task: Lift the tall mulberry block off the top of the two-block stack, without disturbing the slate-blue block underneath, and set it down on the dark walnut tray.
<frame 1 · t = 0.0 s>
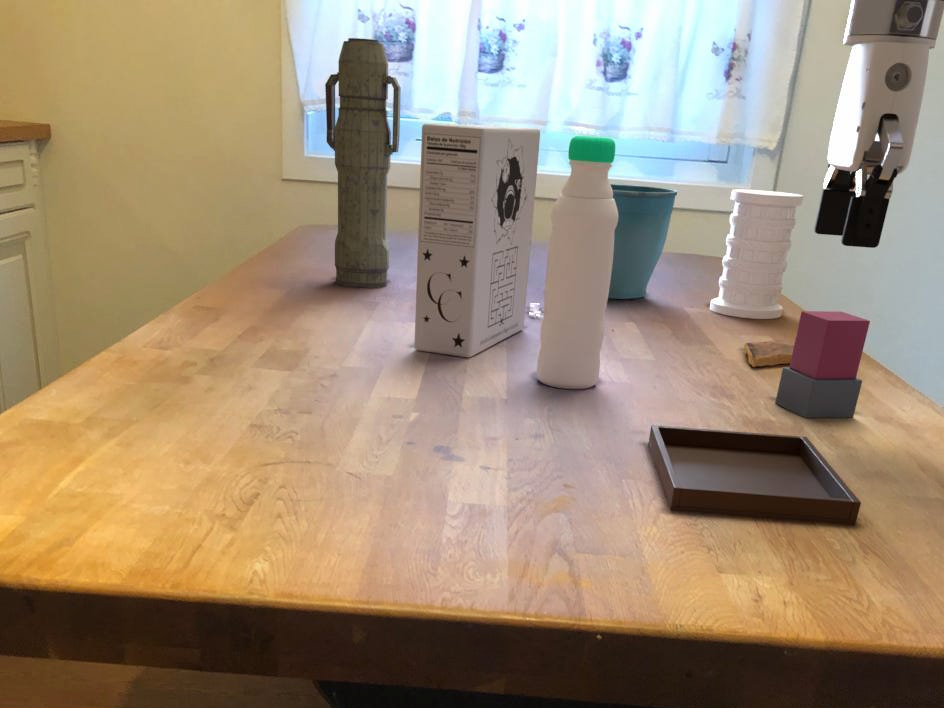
hand: (844, 240, 92), 18 cm above the table, tool pointing down, fingers open, 9 cm apart
cereal box: (472, 340, 130), on the table
miniature furniture: (513, 315, 148), on the table
flower pot: (608, 295, 170), on the table
water bottle: (566, 384, 112), on the table
decorative container: (744, 313, 162), on the table
tray: (741, 486, 83), on the table
thermos: (361, 284, 165), on the table
base block: (813, 410, 108), on the table, touching mulberry block
tan flat slab: (775, 363, 129), on the table
mulberry block: (822, 373, 106), point 4 cm above the table, touching base block
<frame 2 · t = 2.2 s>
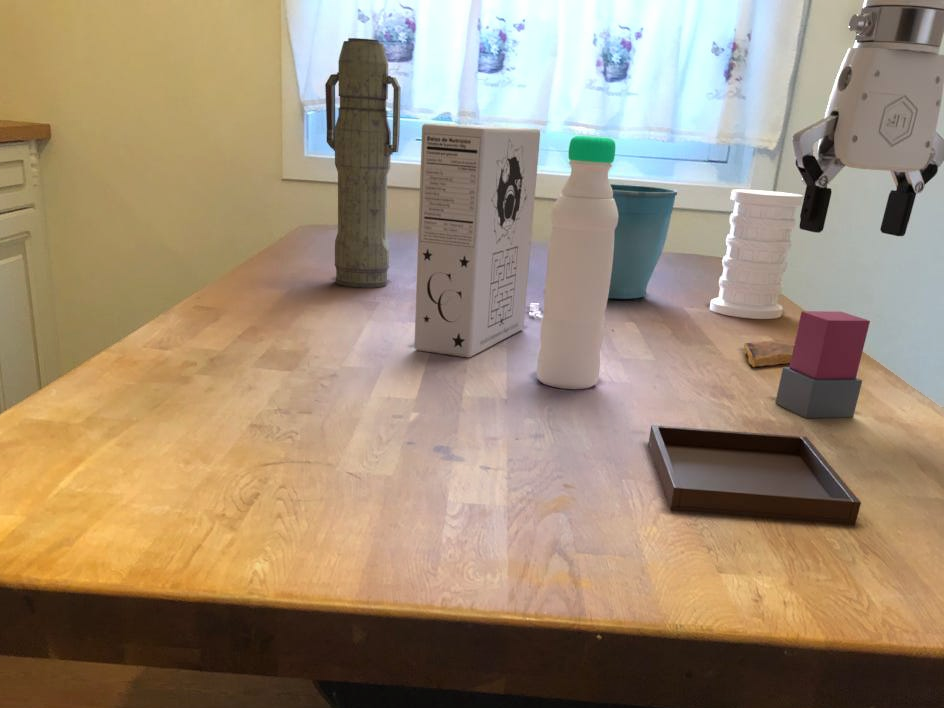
hand: (851, 232, 99), 18 cm above the table, tool pointing down, fingers open, 9 cm apart
nothing on the table moved.
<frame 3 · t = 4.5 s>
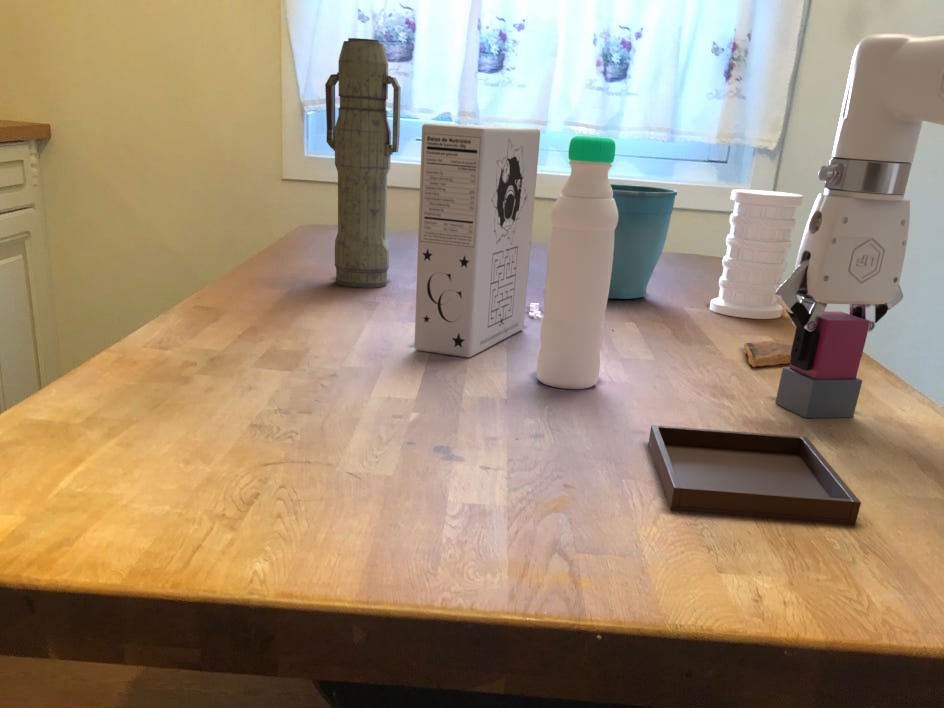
hand: (823, 365, 105), 5 cm above the table, tool pointing down, fingers closed on mulberry block, 5 cm apart
mulberry block: (822, 373, 106), point 4 cm above the table, touching base block, gripper
everything else where it was.
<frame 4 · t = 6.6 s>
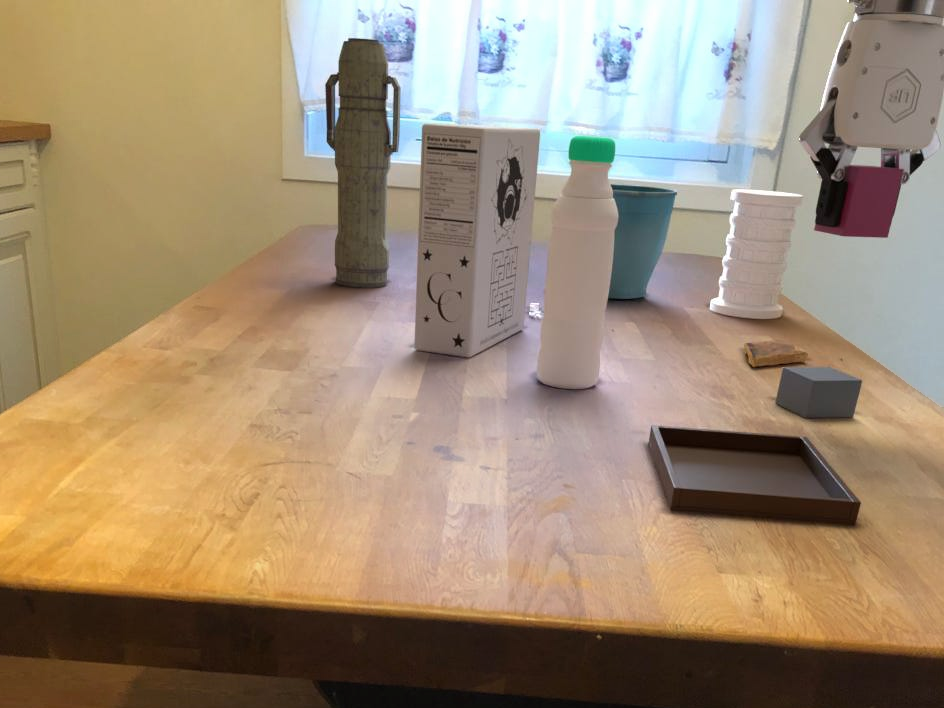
hand: (852, 224, 96), 19 cm above the table, tool pointing down, fingers closed on mulberry block, 5 cm apart
base block: (813, 410, 108), on the table
mulberry block: (850, 234, 96), point 18 cm above the table, touching gripper
everything else where it was.
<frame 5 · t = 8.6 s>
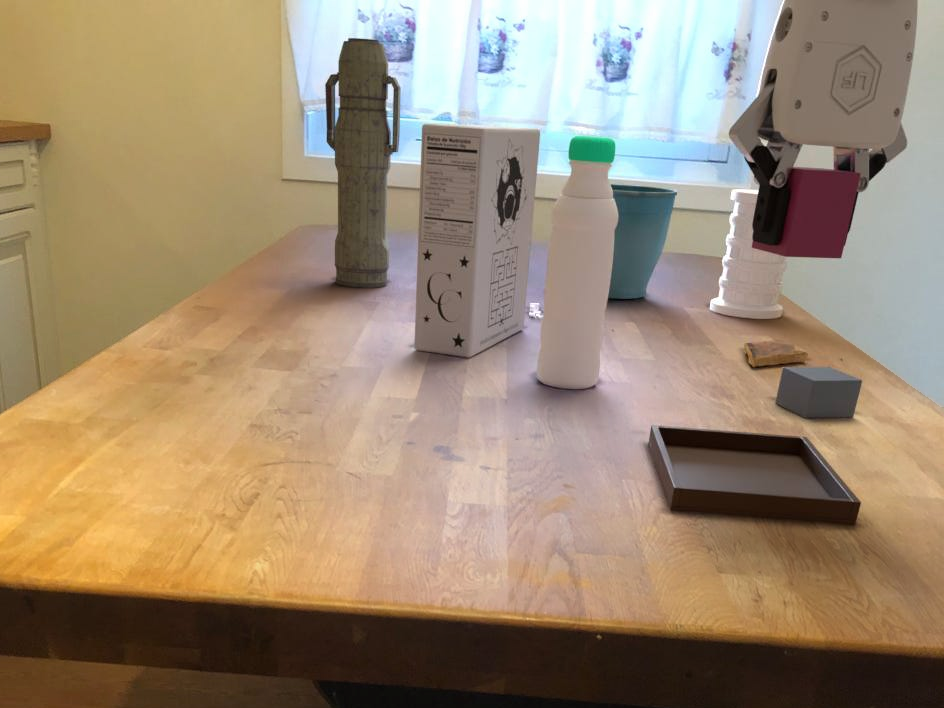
hand: (798, 241, 77), 19 cm above the table, tool pointing down, fingers closed on mulberry block, 5 cm apart
mulberry block: (795, 253, 77), point 18 cm above the table, touching gripper
everything else where it was.
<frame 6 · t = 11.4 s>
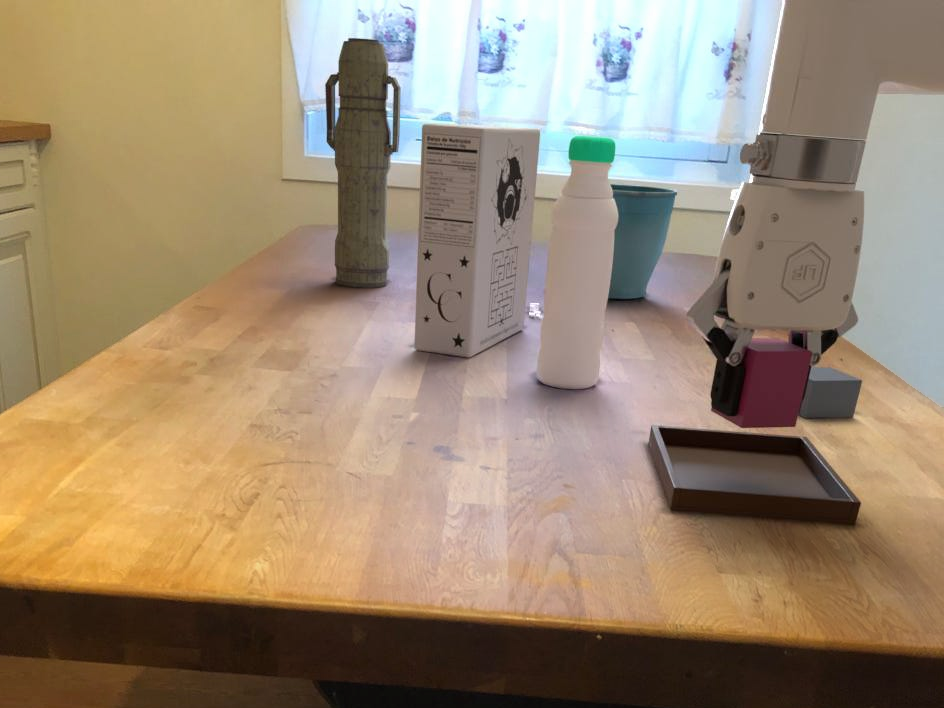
hand: (754, 409, 80), 7 cm above the table, tool pointing down, fingers closed on mulberry block, 5 cm apart
mulberry block: (752, 418, 81), point 6 cm above the table, touching gripper
everything else where it was.
when the fingers open (2 cm above the table, at t = 13.1 s): mulberry block stays where it is, resting on tray.
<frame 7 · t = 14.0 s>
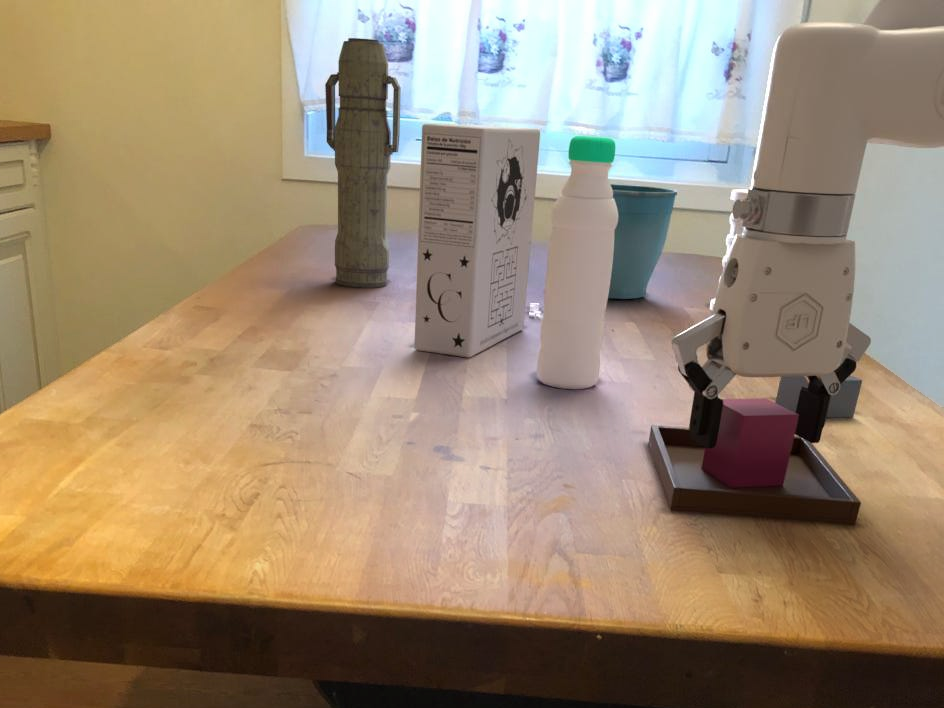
hand: (754, 440, 82), 4 cm above the table, tool pointing down, fingers open, 9 cm apart
mulberry block: (741, 476, 83), point 1 cm above the table, touching tray
everything else where it was.
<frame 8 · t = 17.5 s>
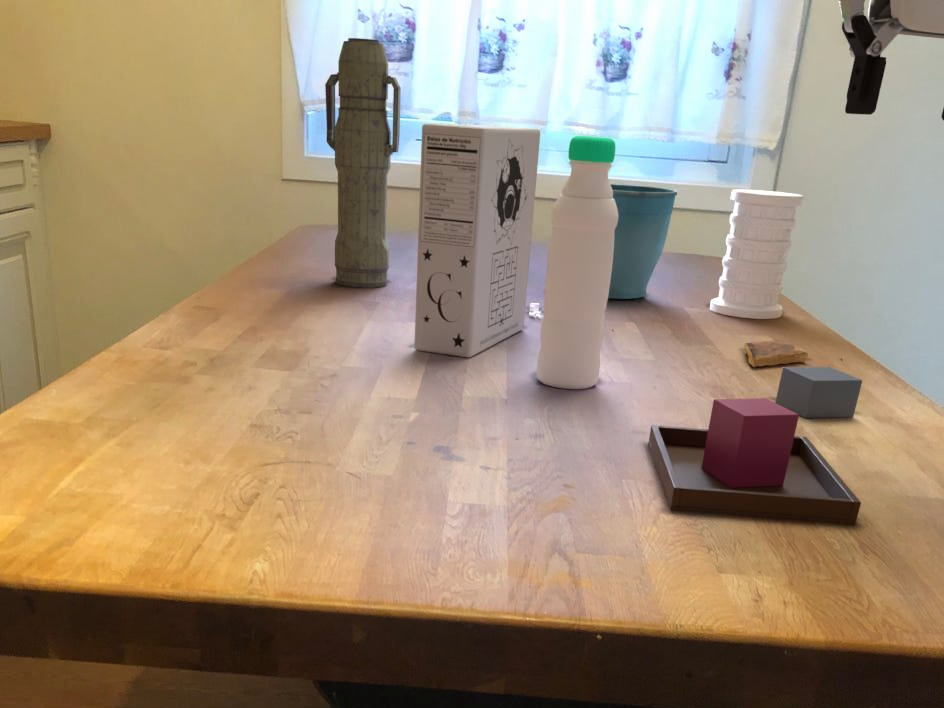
hand: (908, 117, 82), 28 cm above the table, tool pointing down, fingers open, 9 cm apart
nothing on the table moved.
at the end: mulberry block inside the target area in the tray (0.1 cm from its centre), point 0.8 cm above the tray's base; mulberry block tilted 0°; base block moved 0.0 cm from its start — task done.
